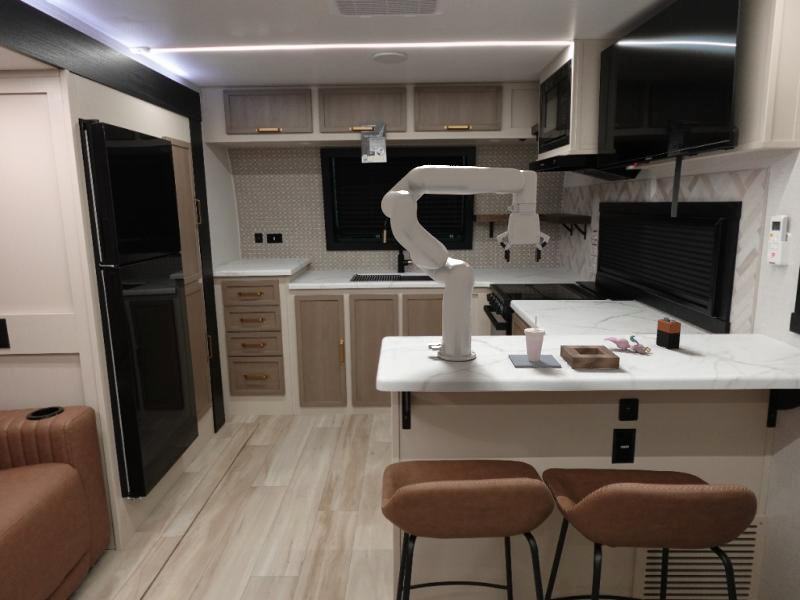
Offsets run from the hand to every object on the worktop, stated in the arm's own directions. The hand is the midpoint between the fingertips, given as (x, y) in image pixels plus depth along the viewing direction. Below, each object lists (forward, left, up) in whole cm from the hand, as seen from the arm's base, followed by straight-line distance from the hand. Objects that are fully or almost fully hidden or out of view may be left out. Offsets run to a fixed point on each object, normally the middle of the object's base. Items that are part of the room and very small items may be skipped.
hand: (522, 261), depth 176 cm
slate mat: (+2, -14, -30) cm, 33 cm away
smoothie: (+2, -14, -30) cm, 33 cm away
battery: (+52, +5, -31) cm, 61 cm away
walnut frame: (+19, -14, -30) cm, 38 cm away
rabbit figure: (+36, 0, -31) cm, 47 cm away
